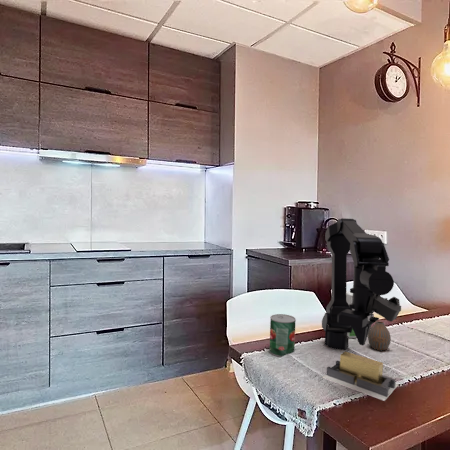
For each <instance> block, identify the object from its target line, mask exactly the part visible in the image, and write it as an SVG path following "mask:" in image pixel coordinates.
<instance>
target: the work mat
mask: <svg viewBox="0 0 450 450" xmlns="http://www.w3.org/2000/svg"><path fill="white" fill-rule="evenodd" d="M321 378H322V379H324V380H327V381H330V382H332V383H335V384H337V385H340V386H343V387H345V388H347V389H351V390H353V391H357V392H360V393H361V394H365V395H367V396H370V397H372V398H376V399H378V400H380V401H384V402H386V400H387V399H388V398H389V396H390V395H391V394H392V393H393V392H394V390H396V389H397V387H398V386H399V385H400V384H399V383H396V384H395V388H390V389H389V390H388V396H387V397H385V396H383V395H380V394H377V393H374V392H372V391H369V390H366V389H363V388H361V387H358V386H357V383H356V382H355V384H354V385H352V384H350V383H347V382H344V381H341V380H339V379H336V378H333V377H330V376H328V375H326V374H325V375H323V376H322V377H321Z"/></svg>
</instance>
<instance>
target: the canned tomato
mask: <svg viewBox="0 0 450 450" xmlns="http://www.w3.org/2000/svg"><path fill="white" fill-rule="evenodd" d="M296 321H297V319H296V317H294V316H292V315H290V314H282V313H281V314H280V313H278V314H276V313H275V314H272V315H270V322H269V324H270V325H269V326H270V327H269V351H268V352H269V354H271V355H272V356H275V357H279V358H283V357H285V356H286V355H289V354H292V353H294V352H295V347H296V346H295V345H296V344H295V343H296Z"/></svg>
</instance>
